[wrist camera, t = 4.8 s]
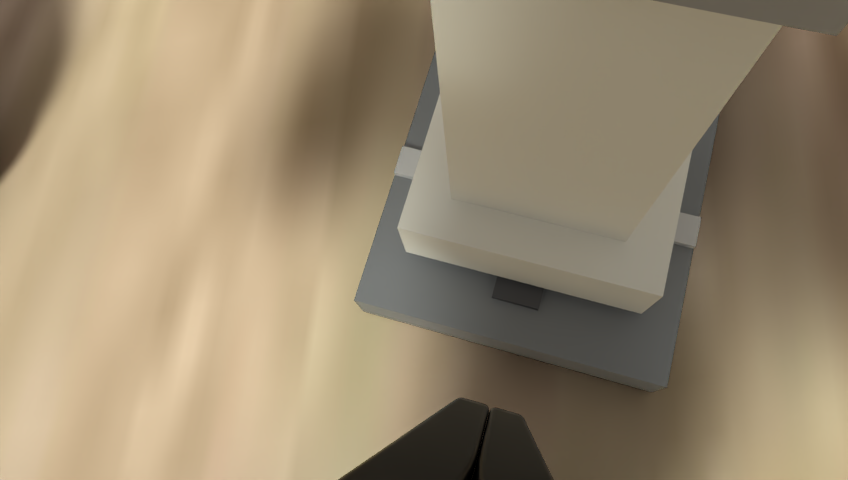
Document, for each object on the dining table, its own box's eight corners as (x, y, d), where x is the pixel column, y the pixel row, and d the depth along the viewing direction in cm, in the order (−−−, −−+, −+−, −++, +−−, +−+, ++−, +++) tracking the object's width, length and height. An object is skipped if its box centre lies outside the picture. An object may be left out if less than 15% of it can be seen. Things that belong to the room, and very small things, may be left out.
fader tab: (641, 313, 16) (983, 38, 5) (406, 252, 17) (278, -95, 6) (679, 132, 18) (1017, -395, 7) (458, 83, 19) (429, -452, 8)
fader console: (651, 392, 18) (669, 386, 16) (363, 311, 19) (352, 298, 17) (758, -154, 22) (781, -200, 21) (523, -190, 24) (527, -237, 22)
